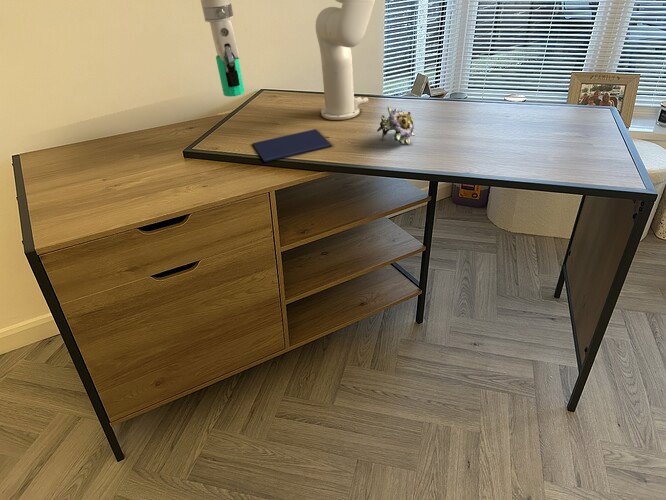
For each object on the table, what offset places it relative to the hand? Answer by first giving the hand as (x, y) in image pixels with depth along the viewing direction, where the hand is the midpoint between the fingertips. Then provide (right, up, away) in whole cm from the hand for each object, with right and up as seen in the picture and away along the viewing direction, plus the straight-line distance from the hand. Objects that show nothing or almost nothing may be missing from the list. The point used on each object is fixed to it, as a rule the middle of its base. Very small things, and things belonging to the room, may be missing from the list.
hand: (232, 82), depth 136 cm
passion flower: (+46, -16, +1) cm, 49 cm away
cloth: (+16, -17, +4) cm, 24 cm away
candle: (0, -3, +2) cm, 3 cm away
